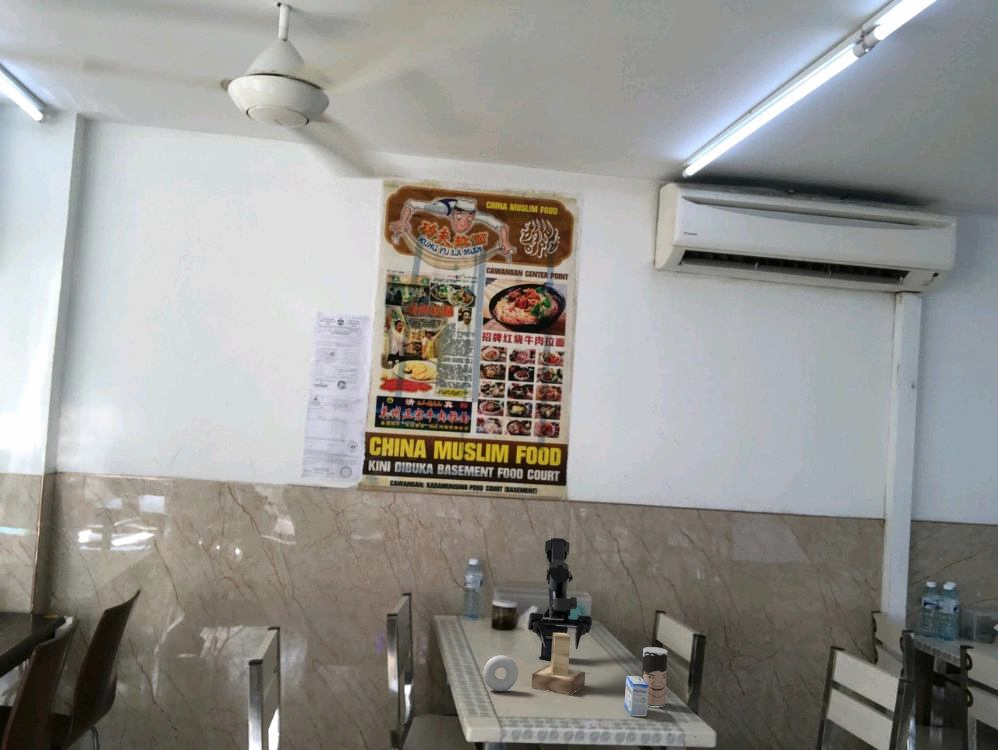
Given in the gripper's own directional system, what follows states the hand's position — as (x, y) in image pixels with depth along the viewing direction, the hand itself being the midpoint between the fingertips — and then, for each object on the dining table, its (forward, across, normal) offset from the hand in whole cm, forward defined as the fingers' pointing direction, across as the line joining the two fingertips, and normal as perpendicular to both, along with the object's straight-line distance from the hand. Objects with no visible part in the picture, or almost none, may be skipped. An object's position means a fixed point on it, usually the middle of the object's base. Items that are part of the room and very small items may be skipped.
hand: (561, 647), depth 253 cm
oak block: (+4, 0, +6) cm, 8 cm away
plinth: (+7, 0, +9) cm, 12 cm away
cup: (+17, +25, 0) cm, 30 cm away
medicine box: (+22, +18, -5) cm, 29 cm away
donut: (+12, -18, +4) cm, 22 cm away
